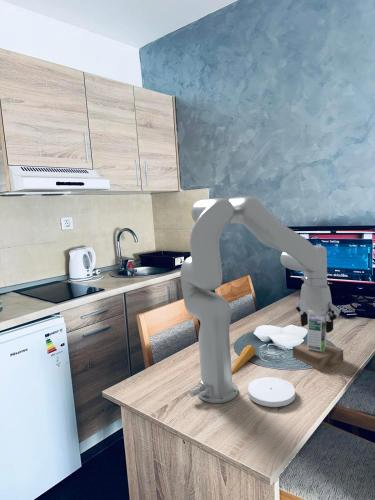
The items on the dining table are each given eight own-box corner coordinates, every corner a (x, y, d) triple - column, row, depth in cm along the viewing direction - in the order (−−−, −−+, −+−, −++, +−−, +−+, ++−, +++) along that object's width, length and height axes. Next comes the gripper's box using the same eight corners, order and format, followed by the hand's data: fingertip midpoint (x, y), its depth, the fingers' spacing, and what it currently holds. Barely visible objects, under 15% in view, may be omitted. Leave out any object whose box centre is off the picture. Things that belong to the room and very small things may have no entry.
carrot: (249, 354, 137) (244, 344, 137) (259, 352, 135) (253, 342, 135) (226, 383, 121) (220, 371, 121) (236, 381, 118) (231, 369, 118)
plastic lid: (261, 380, 116) (261, 373, 116) (302, 392, 107) (302, 384, 107) (239, 400, 106) (238, 392, 105) (283, 416, 97) (283, 407, 97)
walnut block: (318, 372, 119) (318, 358, 118) (293, 359, 130) (292, 346, 129) (343, 363, 124) (343, 349, 124) (316, 351, 135) (316, 339, 134)
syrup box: (306, 349, 125) (307, 310, 123) (310, 343, 130) (310, 305, 128) (323, 352, 123) (325, 312, 120) (326, 345, 128) (327, 307, 125)
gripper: (288, 280, 128) (289, 325, 130) (333, 287, 114) (334, 337, 117) (300, 276, 132) (301, 320, 135) (345, 282, 119) (345, 331, 121)
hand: (316, 328), depth 126 cm, fingers open, 9 cm apart
